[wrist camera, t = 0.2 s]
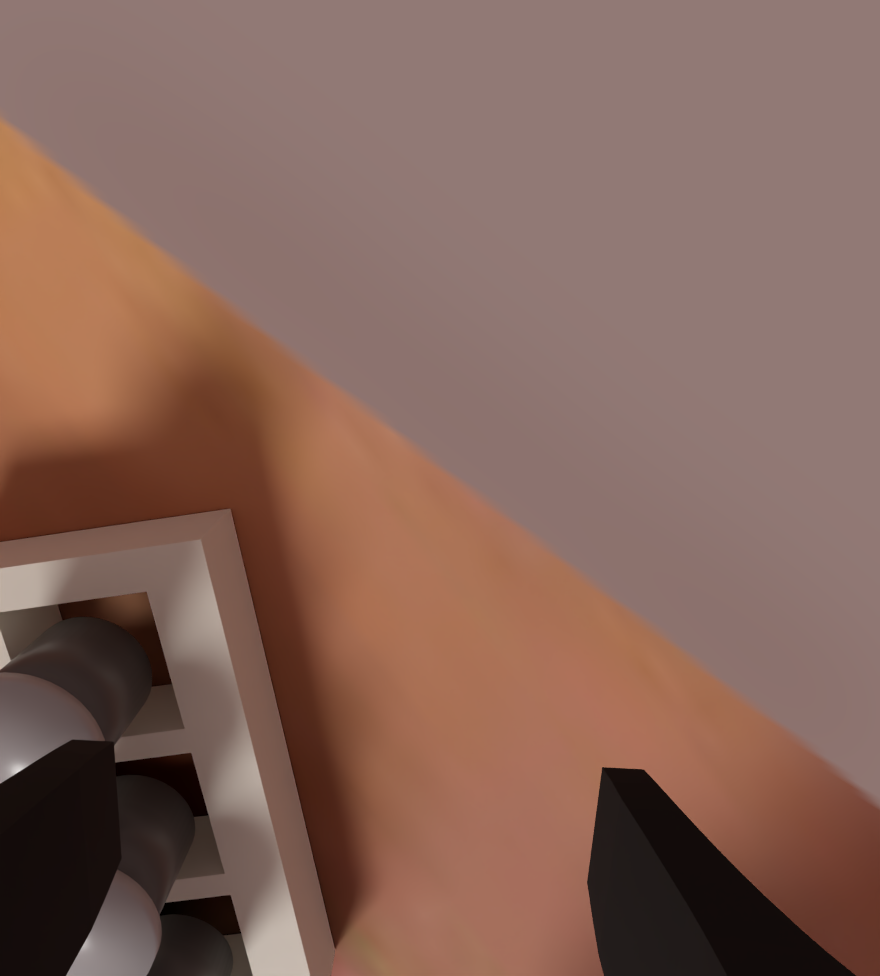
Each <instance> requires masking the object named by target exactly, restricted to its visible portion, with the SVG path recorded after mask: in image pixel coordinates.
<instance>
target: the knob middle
mask: <svg viewBox="0 0 880 976" xmlns="http://www.w3.org/2000/svg"><path fill="white" fill-rule="evenodd" d="M116 782H117V796H118V811H119V826H120V841H121V855H122V859H121V861H120V864H119V866H118V869H117V871H116V874H115V876H114V878H113V881H112V883H111V886H110V888H109V891H108V893H107V896H106V898H105V900H104V903H103V905H102V907H101V909H100V912H99V914H98V916H97V919H96V921H95V923H94V925H93V928H92V930H91V932H90V933H89V935H88V937H87V939H86V941H85V943H84V944H83V946H82V948H81V950H80V952H79V953H78V955H77V957H76V959H75V961H74V962H73V964H72V966H71V968H70V970H69V971H68V973H67V975H66V976H146V975H147V974H148V973H149V970H150V968H151V966H152V964H153V961H154V959H155V957H156V954H157V952H158V950H159V947H160V943H161V936H162V927H161V921H160V916H159V915H160V913H161V911H162V908H163V906H164V904H165V902H166V900H167V897H168V895H169V893H170V891H171V889H172V886H173V884H174V882H175V880H176V878H177V875H178V873H179V871H180V869H181V867H182V864H183V862H184V860H185V858H186V855H187V853H188V851H189V849H190V847H191V844H192V842H193V839H194V836H195V821H194V816H193V814H192V811H191V809H190V807H189V805H188V804H187V802H186V801H185V799H184V798H183V797H182V796H181V795H180V794H179V793H178V792H177V791H176V790H175V789H173V788H172V787H170V786H169V785H167V784H165V783H164V782H162V781H159V780H157V779H154V778H151V777H147V776H141V775H122V776H117V777H116Z"/></svg>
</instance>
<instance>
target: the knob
mask: <svg viewBox="0 0 880 976" xmlns="http://www.w3.org/2000/svg"><path fill="white" fill-rule="evenodd" d="M151 687H152V669H151V665H150V662H149V659H148V656H147V654H146V653H145V651H144V649H143V648H142V646H141V645H140V643H139V642H138V641H137V640H136V639H135V638H134V637H133V636H132V635H131V634H130V633H128V632H127V631H126V630H124V629H123V628H121V627H119V626H118V625H116V624H114V623H111V622H109V621H106V620H103V619H99V618H93V617H75V618H70V619H66V620H63V621H60V622H58V623H56V624H54V625H53V626H51V627H50V628H48V629H47V630H46V631H45V632H44V633H42V634H41V635H40V636H39V637H38V638H37V639H35V640H34V641H33V642H32V643H31V644H30V645H28V646H27V647H26V648H25V649H24V650H23V651H22V652H20V653H19V654H18V655H17V656H16V657H15V658H13V659H12V660H11V661H10V662H9V663H8V664H7V665H5V666H4V667H3V668H2V669H1V670H0V783H2V782H4V781H5V780H7V779H8V778H10V777H11V776H13V775H15V774H16V773H18V772H19V771H21V770H22V769H24V768H26V767H27V766H29V765H30V764H32V763H34V762H35V761H37V760H38V759H40V758H41V757H43V756H45V755H46V754H48V753H50V752H51V751H53V750H55V749H56V748H58V747H60V746H62V745H63V744H65V743H67V742H69V741H71V740H72V739H74V740H93V741H112V742H114V746H115V744H116V743H117V741H118V740H119V739H120V737H121V736H122V734H123V733H124V732H125V730H126V729H127V727H128V726H129V725H130V723H131V722H132V720H133V719H134V718H135V716H136V715H137V713H138V712H139V711H140V709H141V708H142V707H143V705H144V704H145V702H146V700H147V699H148V696H149V694H150V691H151Z"/></svg>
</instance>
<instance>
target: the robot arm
mask: <svg viewBox="0 0 880 976" xmlns="http://www.w3.org/2000/svg"><path fill="white" fill-rule="evenodd" d="M121 859H122V855H121V841H120V826H119V811H118V796H117V782H116V767H115V752H114V742H112V741H93V740H74V739H72V740H71V741H69V742H67V743H65V744H63V745H62V746H60V747H58V748H56V749H55V750H53V751H51V752H50V753H48V754H46V755H45V756H43V757H41V758H40V759H38V760H37V761H35V762H34V763H32V764H30V765H29V766H27V767H26V768H24V769H22V770H21V771H19V772H18V773H16V774H15V775H13V776H11V777H10V778H8V779H7V780H5V781H4V782H2V783H0V976H66V975H67V973H68V971H69V970H70V968H71V966H72V964H73V962H74V961H75V959H76V957H77V955H78V953H79V952H80V950H81V948H82V946H83V944H84V943H85V941H86V939H87V937H88V935H89V933H90V932H91V930H92V928H93V925H94V923H95V921H96V919H97V916H98V914H99V912H100V909H101V907H102V905H103V903H104V900H105V898H106V896H107V893H108V891H109V888H110V886H111V883H112V881H113V878H114V876H115V874H116V871H117V869H118V866H119V864H120V861H121ZM587 884H588V890H589V897H590V904H591V910H592V917H593V924H594V930H595V936H596V942H597V948H598V953H599V958H600V962H601V965H602V969H603V973H604V976H856V975H854V974H853V973H852V972H851V971H850V970H848V969H847V968H846V967H845V966H843V965H842V964H841V963H840V962H838V961H837V960H836V959H835V958H834V957H832V956H831V955H830V954H829V953H827V952H826V951H825V950H824V949H823V948H822V947H820V946H819V945H818V944H817V943H816V942H815V941H813V940H812V939H811V938H810V937H809V936H808V935H807V934H805V933H804V932H803V931H802V930H801V929H800V928H799V927H798V926H797V925H796V924H794V923H793V922H792V921H791V920H790V919H789V918H788V917H787V916H786V915H785V914H784V913H783V912H781V911H780V910H779V909H778V908H777V907H776V906H775V905H774V904H773V903H772V902H771V901H770V900H768V899H767V898H766V897H765V896H764V895H763V894H762V893H761V892H760V891H759V890H758V889H757V888H756V887H755V886H754V885H753V884H752V883H751V882H750V881H749V880H748V879H747V878H746V877H745V876H744V875H743V874H742V873H741V872H740V871H739V870H738V869H737V868H736V867H735V866H734V865H733V864H732V863H731V862H730V861H729V860H728V859H727V858H726V857H725V856H724V855H723V854H722V853H721V852H720V851H719V850H718V849H717V848H716V847H715V846H714V845H713V844H712V843H711V842H710V841H709V840H708V839H707V837H706V836H705V835H704V834H703V833H702V832H701V831H700V830H699V829H698V828H697V827H696V826H695V825H694V824H693V823H692V821H691V820H690V819H689V818H688V817H687V816H686V815H685V814H684V813H683V812H682V811H681V810H680V808H679V807H678V806H677V805H676V804H675V803H674V802H673V801H672V800H671V799H670V797H669V796H668V795H667V794H666V793H665V792H664V791H663V790H662V789H661V788H660V787H659V785H658V784H657V783H656V782H655V781H654V780H653V779H652V778H651V777H650V776H649V775H648V774H647V773H646V772H645V771H644V770H642V769H623V768H604V767H602V774H601V782H600V789H599V797H598V805H597V812H596V820H595V827H594V835H593V843H592V850H591V858H590V866H589V873H588V881H587Z"/></svg>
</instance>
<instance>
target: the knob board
mask: <svg viewBox="0 0 880 976" xmlns="http://www.w3.org/2000/svg"><path fill="white" fill-rule="evenodd" d="M140 592H147V595H148V598H149V602H150V606H151V609H152V613H153V616H154V620H155V624H156V627H157V631H158V634H159V638H160V642H161V645H162V649H163V653H164V656H165V660H166V663H167V667H168V671H169V674H170V678H171V681H172V684H169V685H161V686H154V687H151V691H150V694H149V696H148V699H147V700H146V702H145V704H144V705H143V707H142V708H141V709H140V711H139V712H138V713H137V715H136V716H135V718H134V719H133V720H132V722H131V723H130V725H129V726H128V727H127V729H126V730H125V732H124V733H123V734H122V736H121V737H120V739H119V740H118V741H117V743H116V744H115V746H114V752H115V763H116V762H124V761H131V760H139V759H146V758H154V757H162V756H169V755H177V754H185V753H191V754H192V757H193V761H194V764H195V768H196V772H197V775H198V779H199V783H200V786H201V790H202V793H203V797H204V801H205V804H206V808H207V811H208V815H207V816H199V817H194V821H195V836H194V839H193V842H192V844H191V847H190V849H189V851H188V853H187V855H186V858H185V860H184V862H183V864H182V867H181V869H180V871H179V873H178V875H177V878H176V880H175V882H174V884H173V886H172V889H171V891H170V893H169V895H168V897H167V900H166V902H165V903H168V902H176V901H184V900H192V899H201V898H209V897H217V896H225V895H231V898H232V902H233V905H234V909H235V913H236V916H237V920H238V923H239V927H240V931H241V934H232V935H224V938H225V939H226V940H227V942H228V944H229V946H230V948H231V951H232V955H233V968H232V971H231V975H230V976H331V973H332V967H333V961H334V954H335V948H334V943H333V939H332V935H331V931H330V927H329V922H328V918H327V914H326V910H325V905H324V901H323V897H322V893H321V889H320V884H319V880H318V876H317V872H316V867H315V863H314V859H313V855H312V851H311V846H310V842H309V838H308V834H307V829H306V825H305V821H304V817H303V813H302V808H301V804H300V800H299V796H298V791H297V787H296V783H295V779H294V775H293V770H292V766H291V762H290V758H289V753H288V749H287V745H286V741H285V737H284V732H283V728H282V724H281V720H280V715H279V711H278V707H277V703H276V699H275V694H274V690H273V686H272V682H271V677H270V673H269V669H268V665H267V661H266V656H265V652H264V648H263V644H262V639H261V635H260V631H259V627H258V623H257V618H256V614H255V610H254V606H253V602H252V597H251V593H250V589H249V585H248V580H247V576H246V572H245V568H244V564H243V559H242V555H241V551H240V547H239V542H238V538H237V534H236V530H235V526H234V521H233V517H232V513H231V509H224V510H217V511H210V512H203V513H196V514H190V515H183V516H176V517H169V518H162V519H155V520H148V521H141V522H135V523H128V524H121V525H114V526H107V527H100V528H93V529H87V530H80V531H73V532H66V533H59V534H52V535H45V536H38V537H32V538H25V539H18V540H11V541H4V542H0V670H1V669H2V668H3V667H4V666H5V665H7V664H8V663H9V662H10V661H11V660H12V659H13V658H15V657H16V656H17V655H18V654H19V653H20V652H22V651H23V650H24V649H25V648H26V647H27V646H28V645H30V644H31V643H32V642H33V641H34V640H35V639H37V638H38V637H39V636H40V635H41V634H42V633H44V632H45V631H46V630H47V629H48V628H50V627H51V626H53V625H54V624H56V623H58V622H60V621H63V620H62V617H61V614H60V611H59V607H58V604H62V603H70V602H77V601H84V600H91V599H98V598H105V597H112V596H119V595H126V594H133V593H140Z"/></svg>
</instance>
